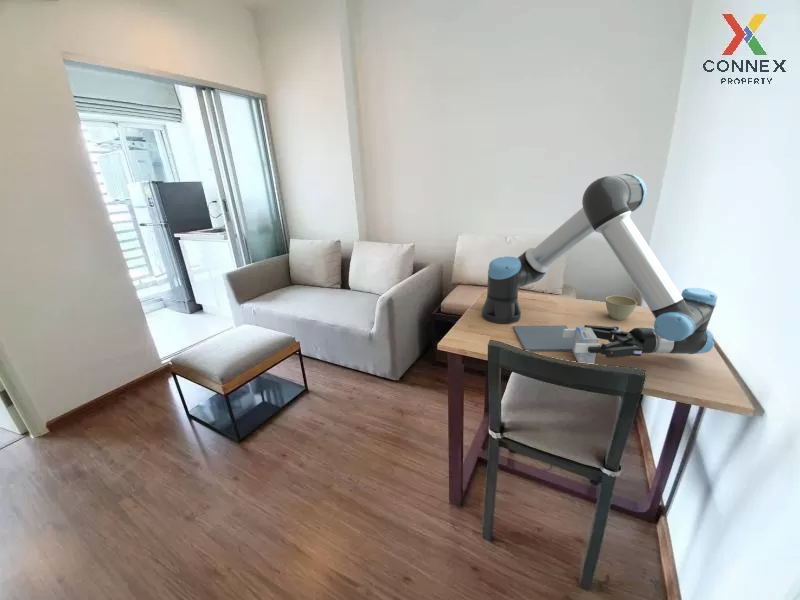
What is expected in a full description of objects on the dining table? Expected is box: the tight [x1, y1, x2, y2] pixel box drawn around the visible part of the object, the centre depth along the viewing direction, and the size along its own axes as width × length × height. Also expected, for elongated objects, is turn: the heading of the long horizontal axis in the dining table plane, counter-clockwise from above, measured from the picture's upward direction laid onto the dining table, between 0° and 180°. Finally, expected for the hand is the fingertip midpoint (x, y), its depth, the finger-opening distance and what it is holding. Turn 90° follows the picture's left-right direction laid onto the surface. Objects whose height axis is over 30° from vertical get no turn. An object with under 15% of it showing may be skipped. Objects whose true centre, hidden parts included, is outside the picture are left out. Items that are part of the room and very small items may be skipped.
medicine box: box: [571, 326, 599, 364], centre depth 99 cm, size 8×4×9 cm, turn 166°
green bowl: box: [605, 295, 638, 321], centre depth 126 cm, size 10×10×7 cm
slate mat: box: [512, 325, 574, 352], centre depth 115 cm, size 19×17×1 cm
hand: (569, 340), depth 99 cm, fingers closed on medicine box, 8 cm apart
